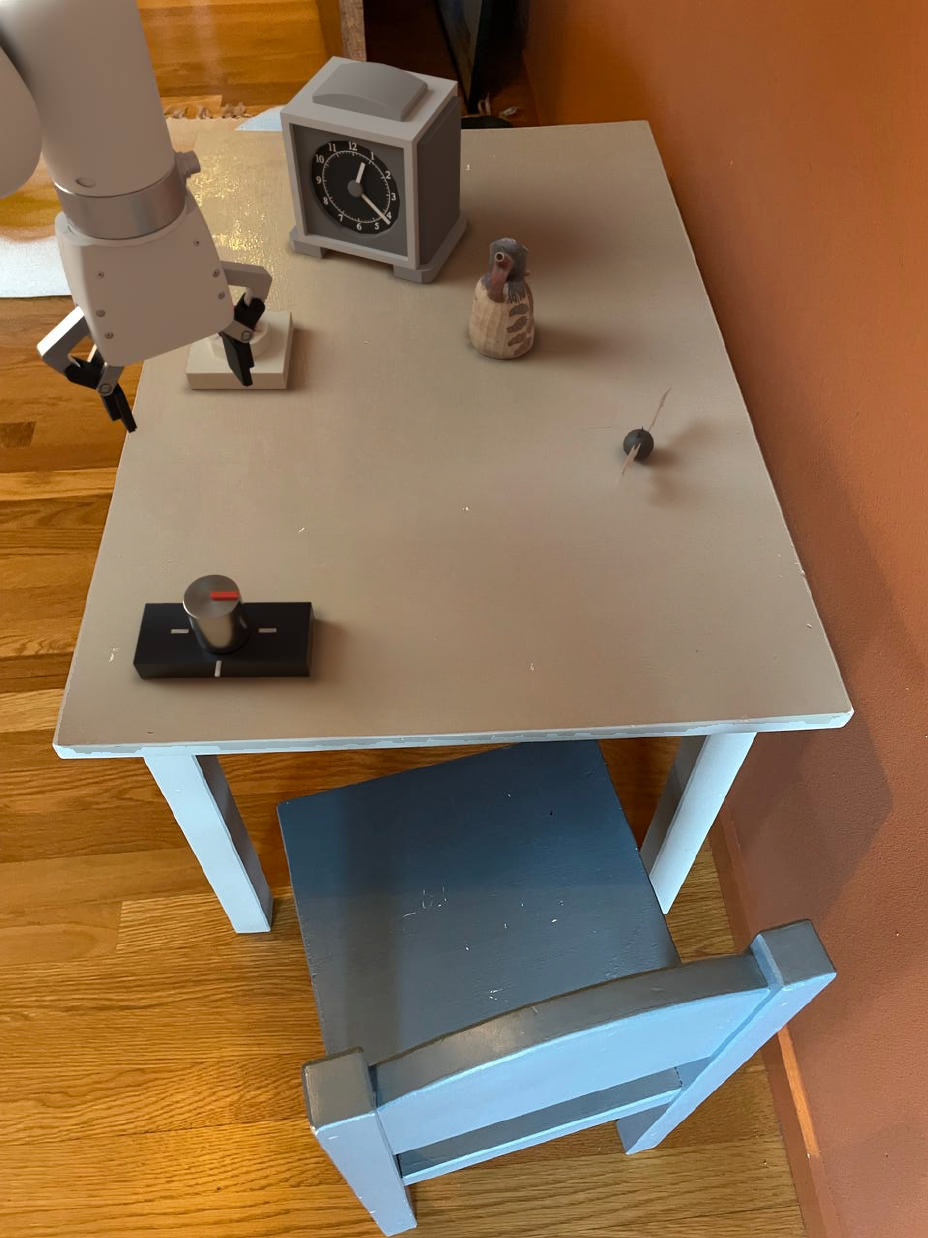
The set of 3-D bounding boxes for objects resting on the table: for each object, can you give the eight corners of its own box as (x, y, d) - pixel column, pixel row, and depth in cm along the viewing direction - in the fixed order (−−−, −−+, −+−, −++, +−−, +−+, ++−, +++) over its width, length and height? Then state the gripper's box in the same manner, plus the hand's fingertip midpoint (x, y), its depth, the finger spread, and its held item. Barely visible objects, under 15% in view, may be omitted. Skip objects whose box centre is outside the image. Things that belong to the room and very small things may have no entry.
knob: (193, 654, 74) (177, 617, 69) (200, 609, 76) (186, 571, 72) (247, 653, 74) (235, 617, 69) (253, 609, 76) (241, 571, 72)
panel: (138, 693, 75) (128, 676, 72) (155, 607, 79) (147, 589, 77) (308, 691, 75) (304, 674, 73) (316, 605, 80) (312, 587, 77)
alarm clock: (287, 249, 108) (261, 90, 93) (333, 192, 115) (317, 34, 100) (429, 285, 105) (427, 125, 90) (469, 223, 112) (473, 66, 97)
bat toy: (675, 413, 94) (686, 377, 90) (622, 510, 87) (630, 476, 83) (648, 403, 95) (657, 368, 91) (593, 499, 87) (600, 464, 83)
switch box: (190, 389, 95) (180, 358, 91) (203, 327, 100) (195, 296, 97) (286, 389, 95) (280, 358, 92) (294, 327, 101) (288, 296, 97)
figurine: (544, 331, 101) (555, 232, 91) (516, 368, 97) (524, 270, 87) (487, 310, 103) (492, 212, 93) (457, 347, 99) (459, 248, 89)
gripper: (222, 128, 62) (263, 334, 76) (-35, 203, 56) (61, 410, 70) (272, 180, 58) (305, 386, 72) (3, 266, 53) (96, 470, 67)
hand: (185, 398), depth 71 cm, fingers open, 9 cm apart
